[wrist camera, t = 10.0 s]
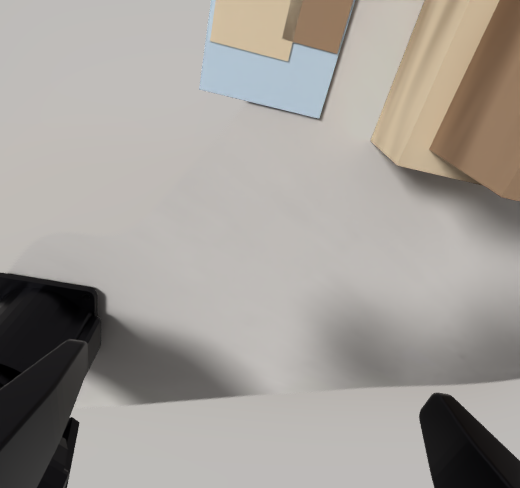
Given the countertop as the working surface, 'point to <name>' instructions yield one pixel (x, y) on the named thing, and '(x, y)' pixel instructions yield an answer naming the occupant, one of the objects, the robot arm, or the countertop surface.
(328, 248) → the countertop surface
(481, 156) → the walnut block
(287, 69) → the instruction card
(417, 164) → the base block
